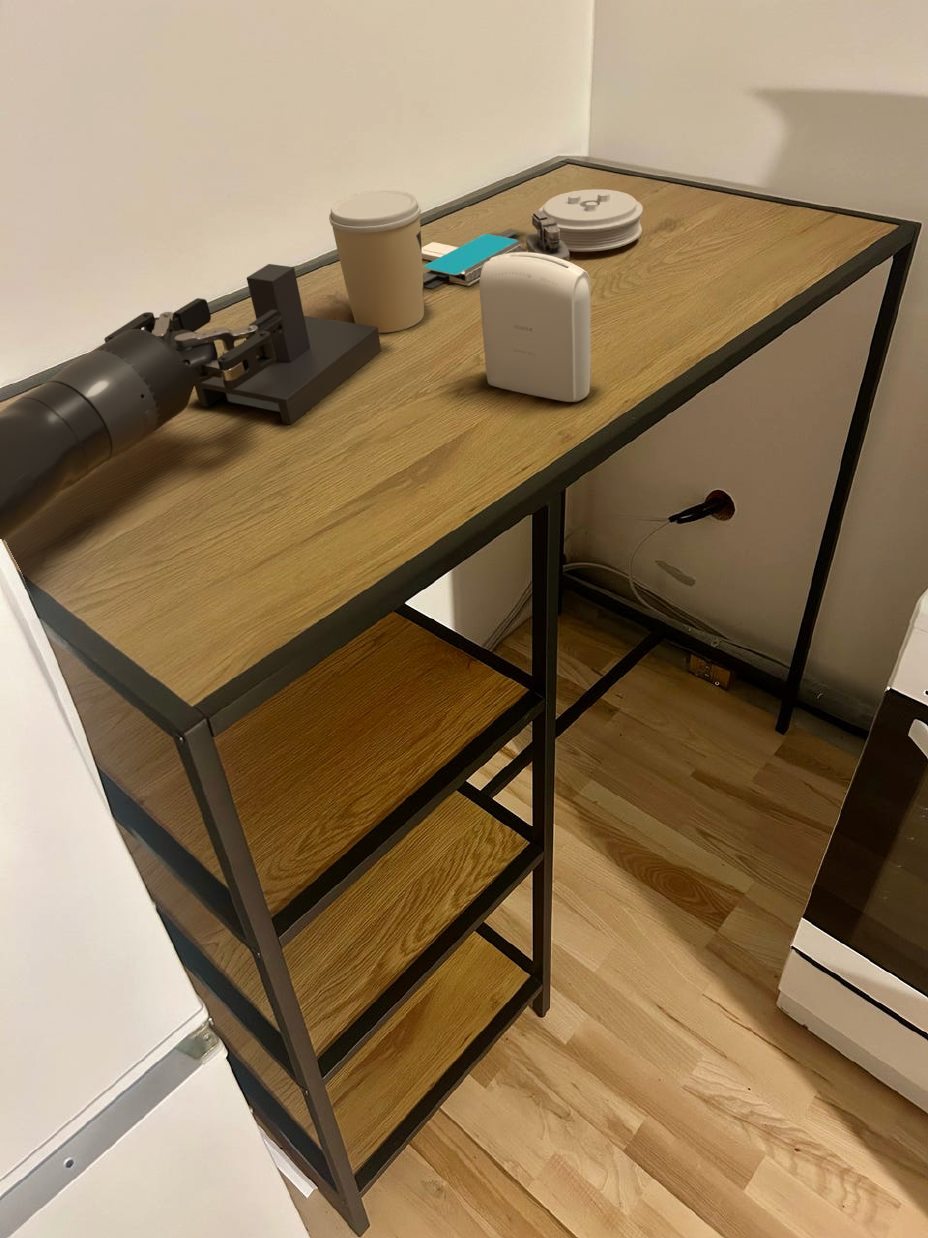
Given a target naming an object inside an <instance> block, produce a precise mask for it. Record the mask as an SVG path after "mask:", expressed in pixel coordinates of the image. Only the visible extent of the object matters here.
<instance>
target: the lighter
mask: <svg viewBox="0 0 928 1238" xmlns="http://www.w3.org/2000/svg"><path fill="white" fill-rule="evenodd" d="M531 225H532V226H533V227H534V229H536V230H537V231H533V232H529V233H527V234H526V236H525V244H526V248H527V250H528V252H530V253H539V254H545V255H549V256H553V257H557V258H560V259H563V260H565V261H568V262H570V251H568V248H567V246H566V245H565V244H564V242H563V241H561V240H560V229H559V228H558V226H557V221H556V219H555V218H551V219H549V218H548V217H547V216H546V215H545V214H544V213H543V212H542V211H538V210H535V211H533V213H532V214H531Z"/></svg>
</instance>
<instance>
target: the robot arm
mask: <svg viewBox="0 0 928 1238" xmlns="http://www.w3.org/2000/svg"><path fill="white" fill-rule="evenodd" d="M211 319H212V314H211V311H210V308H209V304H208V301H207V300H206V299H205V298H200V297H199V298H198V297H197V298H195V299H193V300H192V301H190V302H188V303H187V304H185V305H183V306H182V307H180V308H179V309H177V310H175V311H174V312H173V311H164V312H162V313H159V317H155V315H154V312H152V311H146V312H143V313H141V314H139V315H138V316H136V317H135V318H134V319H132V320H130V321H129V322H127V323H126V324H124V325H122V326H121V327H119V328H117V329H116V330H114V331H113V332H112V333H109V335H107V336H105V337H104V338H103V340H104V343H103V344H100V345H99V346H98V347H96V348H94V349H92V350H91V351H89V352H88V353H86V354H84V355H83V356H81V357H79V358H77V359H76V360H74V361H73V362H71V363H69V364H68V365H66V366H64V367H63V368H61V370H59V371H58V372H57V373H56V374H55V375H54V376H53V377H52V378H50V379H49V380H48V381H45V383H43V384H41V385H39V386H38V387H36V388H34V389H33V390H32V391H29V392H28V393H26V394H24V395H23V396H21V397H19V398H18V399H16V400H15V401H13V402H11V404H9V405H7V406H6V407H4V409H1V411H0V539H2V542H3V541H5V540H6V539H7V538H10V536H12V535H13V534H15V533H16V532H17V531H19V530H20V529H21V528H23V527H24V526H26V524H27V523H29V522H30V521H31V520H32V519H34V517H36V516H37V515H38V514H39V513H40V512H42V510H43V509H44V508H45V507H47V506H48V505H49V504H50V503H51V502H52V501H53V500H54V499H55V498H56V497H57V496H58V495H60V493H61V492H63V491H65V490H66V489H68V488H70V487H72V486H73V485H75V484H77V483H78V482H80V481H81V480H83V478H85V477H86V476H88V475H89V474H91V473H92V472H93V471H95V470H96V469H98V468H99V467H101V465H103V464H105V463H106V462H108V461H109V460H111V459H113V458H114V457H117V456H119V455H121V454H123V453H125V452H127V451H128V450H130V449H131V448H133V447H134V446H136V445H137V444H139V443H140V442H142V441H143V440H144V439H145V438H147V437H148V436H150V435H151V434H152V433H154V432H155V431H157V430H159V428H161V427H163V426H164V425H165V424H167V423H168V422H169V421H171V420H172V419H173V418H175V417H176V416H177V415H179V414H180V413H183V411H184V410H185V409H186V408H187V407H188V405H189V402H190V399H191V396H192V393H193V391H194V389H195V385H197V384H199V383H201V382H204V381H207V380H209V379H211V378H212V377H217V378H221V379H223V383H224V386H225V388H226V389H234V388H237V387H238V386H240V385H241V384H243V383H244V382H246V381H247V380H249V379H250V378H252V377H253V376H255V375H256V374H258V373H259V372H261V371H262V370H264V369H265V368H267V367H268V366H270V365H271V364H273V363H274V362H275V361H276V357H275V352H274V348H273V344H272V342H274V341H275V340H277V339H278V338H279V337H281V336H282V335H284V333H285V327H284V322H283V318H282V313H281V311H279V310H273V309H272V310H270V311H269V312H267V313H266V314H264V315H263V316H261V317H260V318H258V319H257V320H256V319H255V320H253V321H252V322H251V323H249V324H248V325H246V326H243V327H239V328H235V329H229V328H228V327H227V326H220V327H216V328H212V329H207V330H204V331H200V332H196V331H198V330H200V329H201V328H203V327H204V326H206V325H207V324H209V323H210V322H211ZM244 339H245V340H244ZM241 340H244V341H242V342H241V343H239V344H238V345H236V346H235V342H236V341H241ZM215 341H221V342H222V345H223V348H224V350H223V351H222V354H221V355H220V356H219V354H218V349H217V346H216V342H215Z"/></svg>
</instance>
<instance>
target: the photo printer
mask: <svg viewBox="0 0 928 1238" xmlns="http://www.w3.org/2000/svg"><path fill="white" fill-rule="evenodd" d="M591 285H592V283H591V278H590V276H589V273H588V272H587V271H586V270H585V269H583V268H582V267H580V266H578V265H576V264H574V263H573V262H570V261H569V262H568V261H565V260H563V259H560V258H557V257H553V256H549V255H545V254H539V253H530V252H515V253H507V254H502V255H498V256H495V257H492V258H491V259H490V260H489V261H487V262H485V263H484V265H483V268H482V271H481V275H480V281H479V286H478V290H479V301H480V314H481V326H482V327H481V328H482V337H483V351H484V362H485V363H484V364H485V375H486V381H487V383H488V384H489V385H490V386H492V387H494V388H499V389H504V390H507V391H511V392H516V393H520V394H526V395H531V396H535V397H540V398H544V399H550V400H555V401H561V402H567V403H572V402H573V403H577V402H580V401H583V400H584V399H585V398H587V397H588V396H589V394H590V391H591V383H592V286H591Z"/></svg>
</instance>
